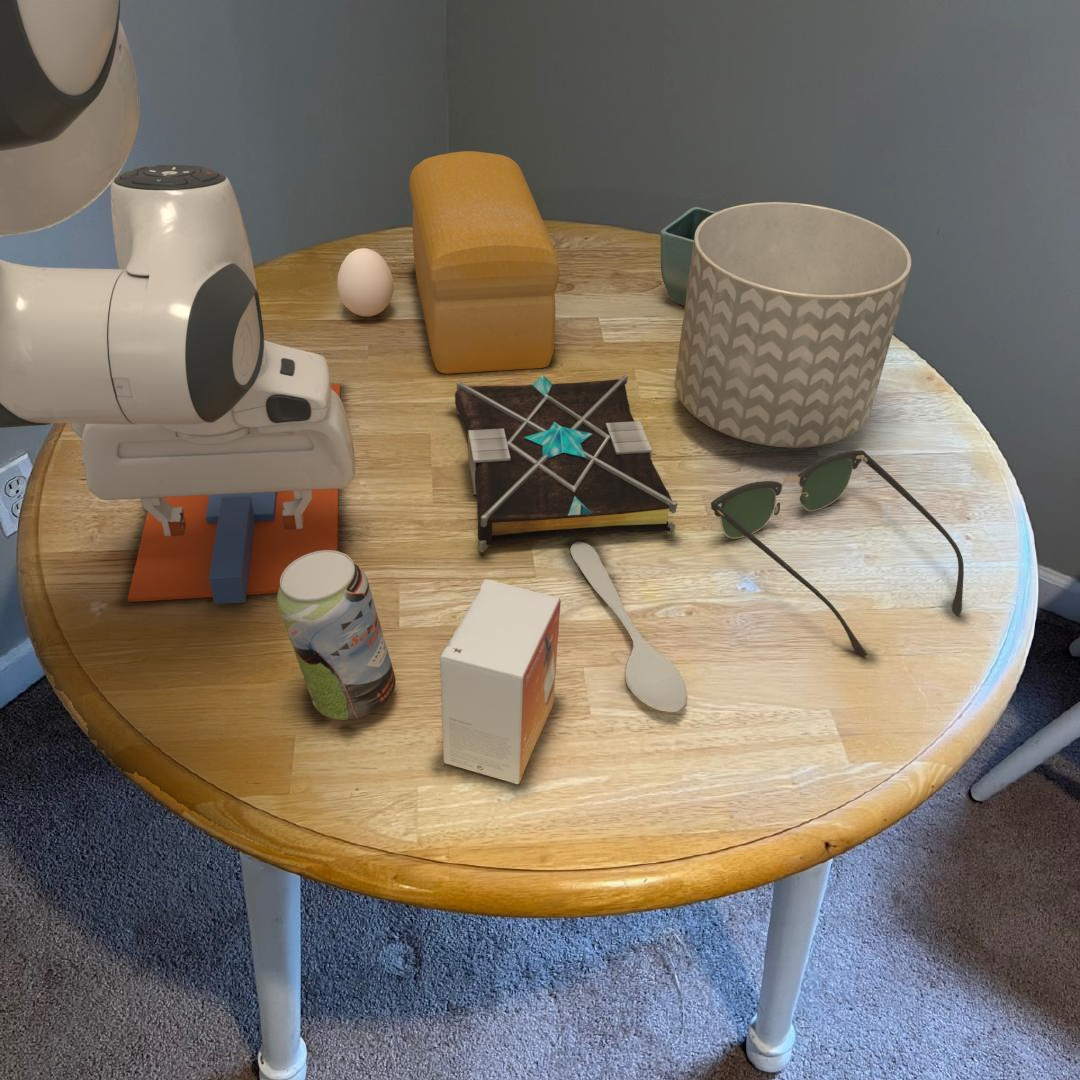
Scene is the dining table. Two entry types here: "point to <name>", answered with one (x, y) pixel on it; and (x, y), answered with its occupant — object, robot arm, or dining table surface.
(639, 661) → the spoon
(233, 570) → the blue stepped bar
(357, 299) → the egg
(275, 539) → the flat orange board
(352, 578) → the beverage can
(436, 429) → the dining table surface
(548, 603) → the small box
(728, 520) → the sunglasses
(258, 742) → the dining table surface
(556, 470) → the book
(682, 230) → the flower pot
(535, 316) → the bread
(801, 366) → the planter
